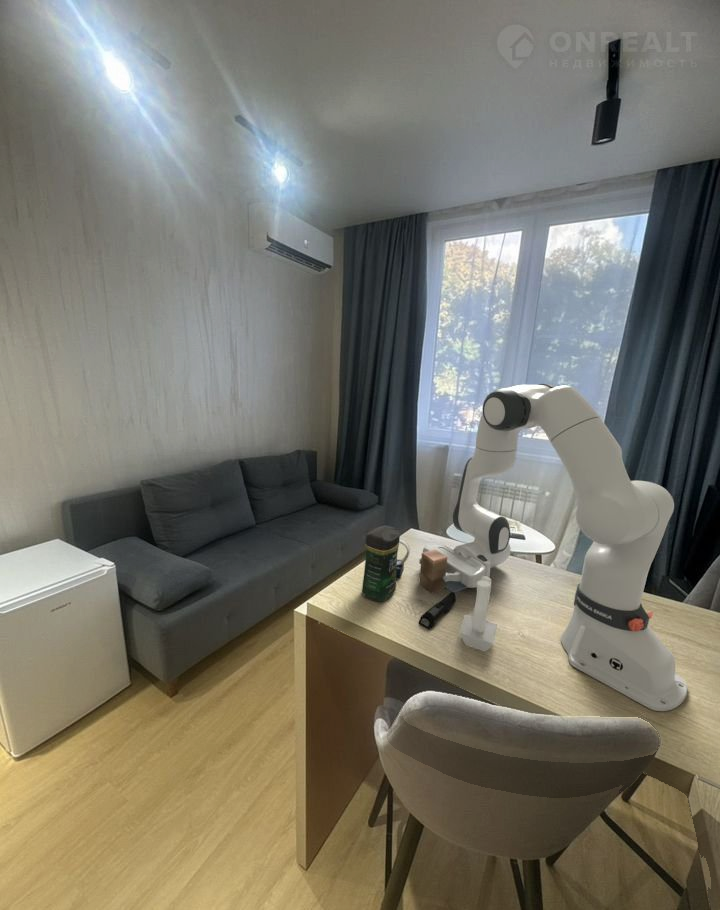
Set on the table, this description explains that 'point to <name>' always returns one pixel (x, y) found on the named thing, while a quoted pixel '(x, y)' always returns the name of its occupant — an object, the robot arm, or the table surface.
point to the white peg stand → (479, 620)
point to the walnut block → (432, 571)
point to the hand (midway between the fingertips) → (431, 569)
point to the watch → (401, 562)
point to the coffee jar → (380, 563)
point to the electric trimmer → (437, 611)
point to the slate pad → (454, 586)
